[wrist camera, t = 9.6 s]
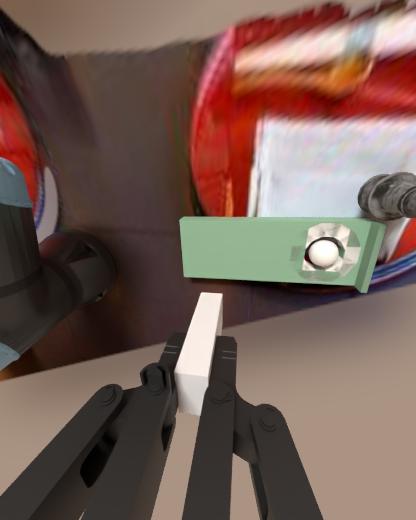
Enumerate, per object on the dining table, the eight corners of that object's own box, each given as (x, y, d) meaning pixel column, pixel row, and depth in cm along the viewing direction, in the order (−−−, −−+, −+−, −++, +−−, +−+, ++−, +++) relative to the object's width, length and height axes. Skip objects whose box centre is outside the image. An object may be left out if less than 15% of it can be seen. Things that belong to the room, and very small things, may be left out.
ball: (311, 270, 32) (340, 271, 31) (316, 244, 30) (346, 244, 30) (303, 260, 35) (329, 261, 35) (307, 236, 34) (334, 237, 33)
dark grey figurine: (401, 211, 30) (487, 235, 19) (354, 218, 32) (411, 245, 21) (406, 167, 28) (506, 166, 17) (356, 176, 30) (420, 182, 19)
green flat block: (187, 270, 40) (180, 282, 36) (183, 216, 36) (175, 223, 32) (352, 278, 35) (366, 292, 31) (368, 217, 31) (387, 225, 27)
